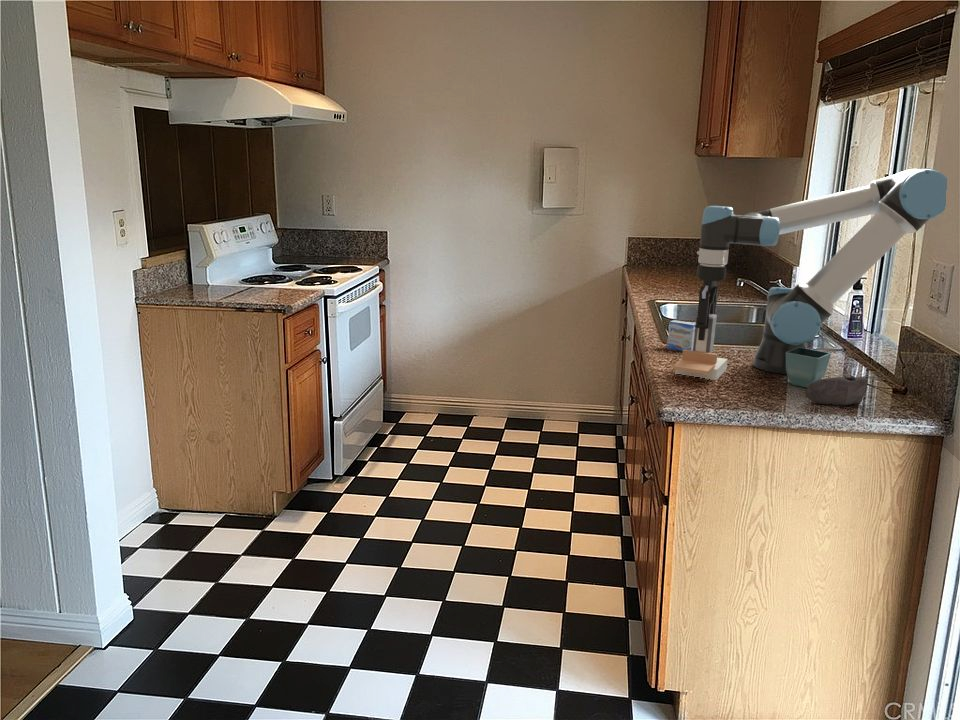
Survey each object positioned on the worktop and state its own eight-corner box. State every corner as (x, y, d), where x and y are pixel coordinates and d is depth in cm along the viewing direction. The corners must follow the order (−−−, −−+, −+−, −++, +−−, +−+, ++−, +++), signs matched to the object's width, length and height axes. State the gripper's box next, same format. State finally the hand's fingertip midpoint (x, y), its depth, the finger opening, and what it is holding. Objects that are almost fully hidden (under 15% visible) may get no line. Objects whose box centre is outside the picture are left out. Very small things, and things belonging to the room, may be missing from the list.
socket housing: (726, 369, 225) (727, 359, 225) (715, 380, 213) (717, 369, 213) (687, 363, 230) (688, 353, 230) (674, 374, 218) (675, 363, 217)
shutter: (716, 365, 216) (717, 353, 215) (707, 374, 207) (708, 361, 206) (682, 361, 220) (684, 349, 219) (673, 369, 211) (674, 356, 210)
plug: (712, 350, 221) (716, 314, 219) (709, 353, 217) (713, 317, 215) (696, 348, 223) (700, 312, 221) (692, 351, 219) (696, 315, 217)
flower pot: (814, 392, 206) (819, 358, 203) (780, 384, 211) (785, 351, 209) (827, 385, 212) (831, 352, 210) (793, 378, 218) (798, 346, 216)
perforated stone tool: (808, 406, 193) (812, 378, 192) (800, 400, 198) (804, 372, 197) (871, 408, 193) (875, 381, 191) (861, 402, 198) (865, 375, 196)
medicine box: (666, 348, 248) (668, 321, 246) (671, 346, 252) (674, 319, 249) (691, 353, 244) (693, 325, 242) (696, 350, 247) (699, 322, 245)
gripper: (705, 260, 224) (696, 342, 230) (690, 266, 209) (681, 353, 214) (732, 262, 220) (723, 345, 226) (719, 269, 205) (709, 358, 211)
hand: (702, 349), depth 220 cm, fingers closed on plug, 4 cm apart
